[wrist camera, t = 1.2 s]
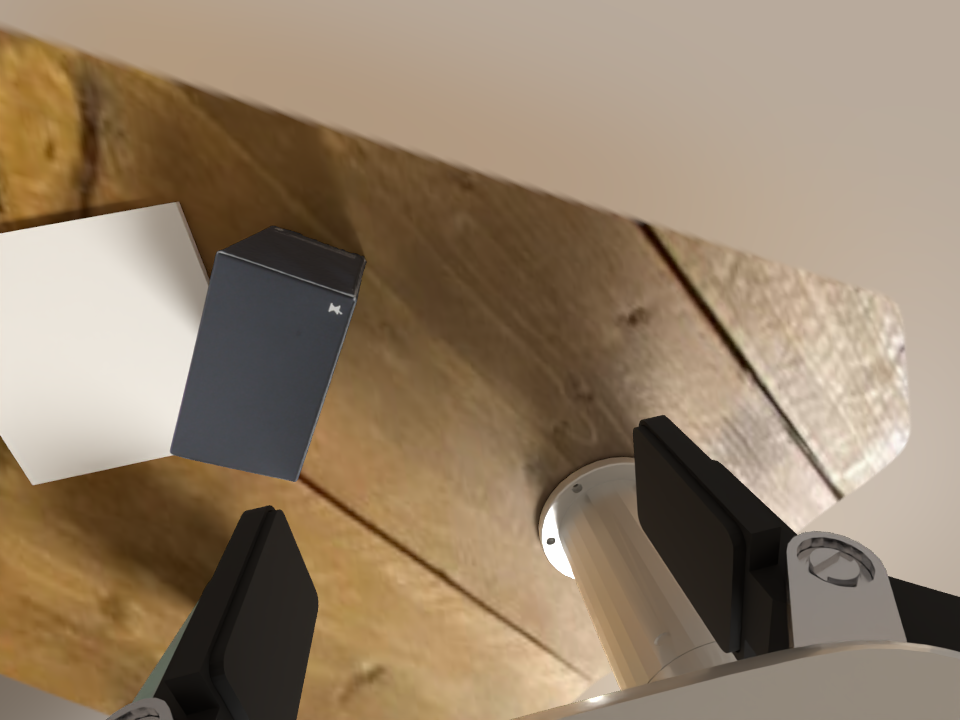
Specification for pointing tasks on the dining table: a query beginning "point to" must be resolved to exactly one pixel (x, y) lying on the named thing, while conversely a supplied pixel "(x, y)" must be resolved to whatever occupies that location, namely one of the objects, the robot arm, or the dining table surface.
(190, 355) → the white mat
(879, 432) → the dining table surface
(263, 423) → the small box
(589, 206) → the dining table surface
